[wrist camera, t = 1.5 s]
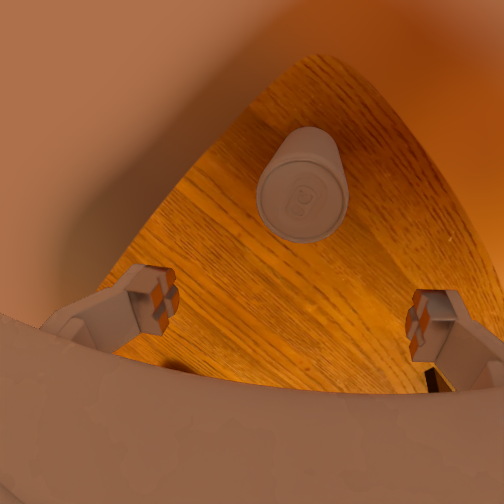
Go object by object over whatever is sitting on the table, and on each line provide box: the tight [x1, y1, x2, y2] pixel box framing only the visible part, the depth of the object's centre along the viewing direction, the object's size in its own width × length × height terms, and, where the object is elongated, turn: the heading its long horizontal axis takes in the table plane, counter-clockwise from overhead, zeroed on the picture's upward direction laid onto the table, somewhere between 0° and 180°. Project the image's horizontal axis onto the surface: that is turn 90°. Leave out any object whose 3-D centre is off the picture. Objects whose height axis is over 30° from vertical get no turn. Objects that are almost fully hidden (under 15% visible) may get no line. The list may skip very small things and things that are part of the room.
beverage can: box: [256, 127, 349, 243], centre depth 20 cm, size 5×5×12 cm
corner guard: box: [425, 367, 452, 393], centre depth 32 cm, size 10×16×5 cm, turn 46°
